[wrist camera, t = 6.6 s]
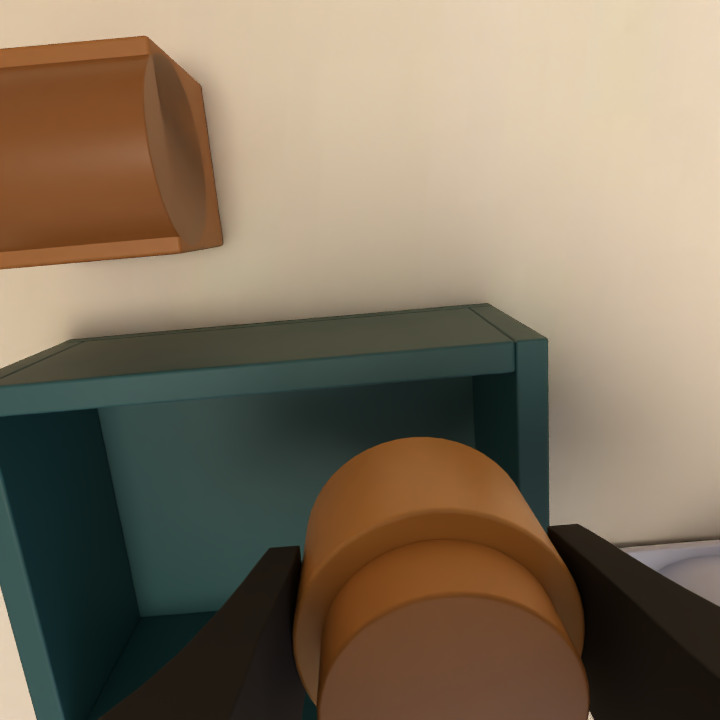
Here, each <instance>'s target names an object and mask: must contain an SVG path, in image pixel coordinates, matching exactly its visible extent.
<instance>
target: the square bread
mask: <svg viewBox="0 0 720 720" xmlns="http://www.w3.org/2000/svg"><path fill="white" fill-rule="evenodd" d="M222 245H223V240H222V233H221V226H220V219H219V211H218V204H217V197H216V190H215V183H214V176H213V169H212V162H211V155H210V148H209V141H208V133H207V126H206V119H205V112H204V105H203V98H202V91H201V86H200V84H199V83H198V82H197V81H196V80H194V79H193V78H192V77H191V76H190V75H189V74H188V73H187V72H186V71H185V70H184V69H182V68H181V67H180V66H179V65H178V64H177V63H176V62H175V61H174V60H173V59H171V58H170V57H169V56H168V55H167V54H166V53H165V52H164V51H163V50H162V49H160V48H159V47H158V46H157V45H156V44H155V43H154V42H153V41H152V40H151V39H149V38H148V37H147V36H137V37H126V38H115V39H104V40H93V41H82V42H71V43H60V44H49V45H38V46H27V47H16V48H5V49H0V269H11V268H22V267H33V266H44V265H56V264H67V263H78V262H90V261H101V260H112V259H124V258H135V257H146V256H158V255H169V254H180V253H185V252H191V251H197V250H202V249H208V248H213V247H219V246H222Z"/></svg>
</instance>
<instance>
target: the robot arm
mask: <svg viewBox="0 0 720 720" xmlns="http://www.w3.org/2000/svg"><path fill="white" fill-rule="evenodd" d="M547 536H548V537H549V539H550V541H551V542H552V544H553V545H554V547H555V549H556V550H557V552H558V553H559V555H560V557H561V558H562V560H563V561H564V563H565V565H566V566H567V568H568V570H569V572H570V573H571V575H572V577H573V579H574V580H575V583H576V585H577V588H578V591H579V593H580V596H581V600H582V605H583V610H584V620H585V636H584V647H583V651H582V655H581V659H582V662H583V664H584V667H585V669H586V673H587V678H588V682H589V695H590V704H589V711H590V713H591V715H592V717H593V718H594V720H720V539H719V540H707V541H695V542H684V543H672V544H660V545H648V546H636V547H624V548H617V547H616V546H614V545H613V544H611V543H609V542H608V541H606V540H605V539H603V538H601V537H600V536H598V535H596V534H595V533H593V532H591V531H590V530H588V529H586V528H584V527H582V526H581V525H579V524H571V525H558V526H547ZM301 566H302V561H301V553H300V545H298V546H285V547H272V548H269V549H268V550H267V551H266V552H265V554H264V555H263V556H262V557H261V559H260V560H259V561H258V562H257V564H256V565H255V566H254V568H253V569H252V570H251V571H250V573H249V574H248V575H247V577H246V578H245V579H244V580H243V582H242V583H241V584H240V585H239V587H238V588H237V589H236V590H235V591H234V593H233V594H232V595H231V596H230V597H229V599H228V600H227V601H226V602H225V603H224V605H223V606H222V607H221V608H220V609H219V610H218V612H217V613H216V614H215V615H214V616H213V617H212V618H211V620H210V621H209V622H208V623H207V624H206V625H205V626H204V627H203V628H202V629H201V630H200V631H199V632H198V633H197V634H196V635H195V637H194V638H193V639H192V640H191V641H190V642H189V643H188V644H187V645H186V646H185V647H184V648H183V649H182V650H181V651H180V652H179V653H178V654H177V655H176V656H175V657H173V658H172V659H171V660H170V661H169V662H168V663H167V664H166V665H165V666H163V667H162V668H161V669H160V670H159V671H158V672H157V673H156V674H154V675H153V676H152V677H151V678H150V679H149V680H148V681H146V682H145V683H144V684H143V685H142V686H140V687H139V688H138V689H137V690H135V691H134V692H133V693H131V694H130V695H129V696H127V697H126V698H125V699H124V700H122V701H121V702H120V703H118V704H117V705H116V706H114V707H113V708H112V709H110V710H109V711H108V712H107V713H105V714H104V715H103V716H101V717H100V718H99V719H97V720H301V719H302V712H303V706H304V700H305V694H306V690H305V688H304V686H303V684H302V682H301V679H300V676H299V673H298V671H297V668H296V664H295V659H294V654H293V643H292V631H293V621H294V614H295V607H296V600H297V593H298V587H299V580H300V573H301Z"/></svg>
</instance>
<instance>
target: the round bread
mask: <svg viewBox="0 0 720 720" xmlns="http://www.w3.org/2000/svg"><path fill="white" fill-rule="evenodd" d="M584 636H585V620H584V610H583V605H582V600H581V596H580V593H579V591H578V588H577V585H576V583H575V580H574V579H573V577H572V575H571V573H570V572H569V570H568V568H567V566H566V565H565V563H564V561H563V560H562V558H561V557H560V555H559V553H558V552H557V550H556V549H555V547H554V545H553V544H552V542H551V541H550V539H549V537H548V536H547V534H546V533H545V531H544V529H543V528H542V526H541V525H540V523H539V521H538V520H537V518H536V517H535V515H534V513H533V512H532V510H531V509H530V507H529V505H528V504H527V502H526V501H525V499H524V497H523V496H522V494H521V493H520V491H519V489H518V488H517V486H516V485H515V483H514V482H513V481H512V479H511V478H510V477H509V475H508V474H507V473H506V472H505V471H504V470H503V469H502V468H501V467H500V466H499V465H498V464H497V463H496V462H494V461H493V460H492V459H490V458H489V457H487V456H486V455H485V454H483V453H481V452H479V451H477V450H475V449H473V448H472V447H469V446H466V445H464V444H461V443H458V442H455V441H451V440H446V439H442V438H432V437H410V438H403V439H397V440H393V441H389V442H385V443H382V444H379V445H377V446H374V447H372V448H369V449H367V450H365V451H364V452H362V453H360V454H358V455H356V456H355V457H353V458H352V459H351V460H349V461H348V462H347V463H345V464H344V465H343V466H342V467H341V468H340V469H338V470H337V471H336V472H335V473H334V474H333V475H332V476H331V478H330V479H329V480H328V482H327V483H326V484H325V485H324V487H323V488H322V490H321V492H320V493H319V495H318V497H317V498H316V501H315V503H314V505H313V508H312V510H311V513H310V517H309V521H308V525H307V532H306V539H305V546H304V553H303V559H302V566H301V573H300V580H299V587H298V593H297V600H296V607H295V614H294V621H293V631H292V643H293V654H294V659H295V664H296V668H297V671H298V673H299V676H300V679H301V682H302V684H303V686H304V688H305V690H306V691H307V693H308V695H309V697H310V699H311V700H312V701H313V703H314V704H315V705H316V707H317V720H587V719H588V714H589V704H590V695H589V682H588V678H587V673H586V669H585V667H584V664H583V662H582V659H581V655H582V651H583V647H584Z"/></svg>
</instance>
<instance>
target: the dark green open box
mask: <svg viewBox="0 0 720 720" xmlns="http://www.w3.org/2000/svg"><path fill="white" fill-rule="evenodd" d="M410 437H432V438H442V439H446V440H451V441H455V442H458V443H461V444H464V445H466V446H469V447H472V448H473V449H475V450H477V451H479V452H481V453H483V454H485V455H486V456H487V457H489V458H490V459H492V460H493V461H494V462H496V463H497V464H498V465H499V466H500V467H501V468H502V469H503V470H504V471H505V472H506V473H507V474H508V475H509V477H510V478H511V479H512V481H513V482H514V483H515V485H516V486H517V488H518V489H519V491H520V493H521V494H522V496H523V497H524V499H525V501H526V502H527V504H528V505H529V507H530V509H531V510H532V512H533V513H534V515H535V517H536V518H537V520H538V521H539V523H540V525H541V526H542V528H543V529H544V531H545V533H546V534H547V526H549V410H548V339H547V338H546V337H544V336H542V335H541V334H539V333H537V332H535V331H534V330H532V329H530V328H529V327H527V326H525V325H524V324H522V323H520V322H519V321H517V320H515V319H514V318H512V317H510V316H508V315H507V314H505V313H503V312H502V311H500V310H498V309H497V308H495V307H493V306H492V305H490V304H488V303H485V304H474V305H462V306H451V307H439V308H428V309H416V310H405V311H393V312H382V313H371V314H359V315H348V316H336V317H325V318H313V319H302V320H291V321H279V322H268V323H256V324H245V325H233V326H222V327H210V328H199V329H188V330H176V331H165V332H153V333H142V334H130V335H119V336H108V337H96V338H85V339H73V340H68V341H66V342H63V343H61V344H59V345H57V346H54V347H52V348H49V349H47V350H45V351H42V352H40V353H37V354H35V355H33V356H30V357H28V358H25V359H23V360H21V361H18V362H16V363H13V364H11V365H9V366H6V367H4V368H1V369H0V586H1V590H2V593H3V597H4V601H5V605H6V608H7V612H8V616H9V619H10V623H11V627H12V630H13V634H14V638H15V641H16V645H17V649H18V652H19V656H20V660H21V663H22V667H23V671H24V674H25V678H26V682H27V685H28V689H29V693H30V696H31V700H32V704H33V707H34V711H35V715H36V718H37V720H97V719H99V718H100V717H101V716H103V715H104V714H105V713H107V712H108V711H109V710H110V709H112V708H113V707H114V706H116V705H117V704H118V703H120V702H121V701H122V700H124V699H125V698H126V697H127V696H129V695H130V694H131V693H133V692H134V691H135V690H137V689H138V688H139V687H140V686H142V685H143V684H144V683H145V682H146V681H148V680H149V679H150V678H151V677H152V676H153V675H154V674H156V673H157V672H158V671H159V670H160V669H161V668H162V667H163V666H165V665H166V664H167V663H168V662H169V661H170V660H171V659H172V658H173V657H175V656H176V655H177V654H178V653H179V652H180V651H181V650H182V649H183V648H184V647H185V646H186V645H187V644H188V643H189V642H190V641H191V640H192V639H193V638H194V637H195V635H196V634H197V633H198V632H199V631H200V630H201V629H202V628H203V627H204V626H205V625H206V624H207V623H208V622H209V621H210V620H211V618H212V617H213V616H214V615H215V614H216V613H217V612H218V610H219V609H220V608H221V607H222V606H223V605H224V603H225V602H226V601H227V600H228V599H229V597H230V596H231V595H232V594H233V593H234V591H235V590H236V589H237V588H238V587H239V585H240V584H241V583H242V582H243V580H244V579H245V578H246V577H247V575H248V574H249V573H250V571H251V570H252V569H253V568H254V566H255V565H256V564H257V562H258V561H259V560H260V559H261V557H262V556H263V555H264V554H265V552H266V551H267V550H268V549H269V548H272V547H285V546H298V545H300V553H301V561H302V559H303V553H304V546H305V539H306V532H307V525H308V521H309V517H310V513H311V510H312V508H313V505H314V503H315V501H316V498H317V497H318V495H319V493H320V492H321V490H322V488H323V487H324V485H325V484H326V483H327V482H328V480H329V479H330V478H331V476H332V475H333V474H334V473H335V472H336V471H337V470H338V469H340V468H341V467H342V466H343V465H344V464H345V463H347V462H348V461H349V460H351V459H352V458H353V457H355V456H356V455H358V454H360V453H362V452H364V451H365V450H367V449H369V448H372V447H374V446H377V445H379V444H382V443H385V442H389V441H393V440H397V439H403V438H410ZM301 720H317V707H316V705H315V704H314V703H313V701H312V700H311V699H310V697H309V695H308V693H307V691H306V694H305V700H304V706H303V712H302V719H301Z"/></svg>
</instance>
